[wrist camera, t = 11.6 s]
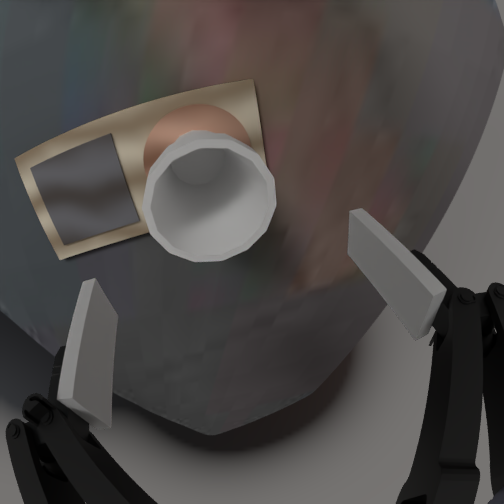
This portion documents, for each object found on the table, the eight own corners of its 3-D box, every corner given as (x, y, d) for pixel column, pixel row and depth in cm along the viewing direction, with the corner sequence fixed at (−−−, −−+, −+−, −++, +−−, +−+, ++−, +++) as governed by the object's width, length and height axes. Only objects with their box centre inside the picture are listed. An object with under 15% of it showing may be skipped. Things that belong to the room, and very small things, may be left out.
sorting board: (18, 156, 25) (13, 159, 24) (251, 79, 28) (254, 79, 27) (62, 255, 33) (59, 261, 32) (268, 197, 37) (271, 201, 36)
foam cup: (176, 209, 33) (179, 279, 23) (140, 140, 28) (117, 179, 17) (251, 176, 33) (291, 230, 22) (222, 102, 28) (252, 116, 17)
